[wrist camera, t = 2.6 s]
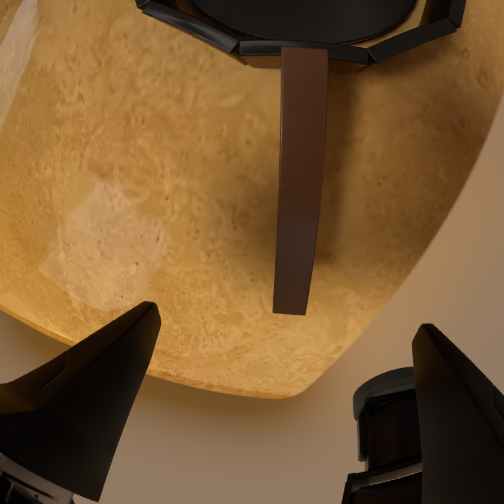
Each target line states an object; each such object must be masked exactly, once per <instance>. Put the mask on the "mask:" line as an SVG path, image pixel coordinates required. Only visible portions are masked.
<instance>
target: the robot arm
mask: <svg viewBox="0 0 504 504" xmlns="http://www.w3.org/2000/svg"><path fill="white" fill-rule="evenodd" d="M160 327H161V318H160V314H159V311H158V307H157V304H156V303H154V302H149V301H144V302H142V303H140V304H139V305H137V306H136V307H134V308H132V309H131V310H129V311H128V312H126V313H124V314H123V315H121V316H120V317H118V318H117V319H115V320H113V321H112V322H110V323H109V324H107V325H106V326H104V327H102V328H101V329H99V330H98V331H96V332H95V333H93V334H91V335H90V336H88V337H87V338H85V339H84V340H82V341H80V342H79V343H77V344H76V345H74V346H73V347H71V348H70V349H68V351H65V352H63V353H62V354H60V355H59V356H57V357H55V358H54V359H52V360H51V361H49V362H47V363H45V364H44V365H42V366H40V367H39V368H37V369H35V370H33V371H31V372H29V373H27V374H25V375H23V376H21V377H19V378H18V379H16V380H14V381H11V382H9V383H4V384H0V504H74V501H73V499H72V497H73V494H74V493H75V494H77V495H80V496H82V497H85V498H87V499H90V500H92V501H96V502H98V501H99V499H100V496H101V493H102V490H103V487H104V483H105V481H106V477H107V474H108V471H109V469H110V466H111V463H112V460H113V456H114V454H115V451H116V448H117V445H118V442H119V440H120V437H121V434H122V431H123V429H124V426H125V424H126V421H127V418H128V416H129V413H130V410H131V408H132V405H133V402H134V400H135V398H136V395H137V393H138V390H139V388H140V385H141V383H142V380H143V378H144V376H145V373H146V371H147V368H148V366H149V363H150V360H151V357H152V354H153V350H154V347H155V344H156V340H157V337H158V334H159V330H160ZM412 354H413V366H414V381H415V388H413V389H409V390H405V391H400V392H395V393H390V394H385V395H380V396H374V397H369V398H366V399H365V400H364V405H363V412H362V413H360V414H359V415H358V421H357V437H358V460H359V461H360V462H363V461H365V472H360V473H351V474H348V477H347V482H346V483H345V489H344V493H343V499H342V503H341V504H504V395H503V394H502V393H501V392H500V391H499V390H498V389H497V388H496V387H495V386H494V385H493V383H492V382H491V381H490V380H489V379H488V378H487V377H486V376H485V375H484V374H483V373H482V372H481V371H480V370H479V369H478V368H477V367H476V366H475V365H474V363H473V362H472V361H471V360H469V358H468V357H466V355H465V354H464V353H463V352H461V350H460V349H458V348H457V347H456V346H455V345H454V344H453V343H452V342H451V341H450V340H449V339H448V338H447V337H446V336H445V335H444V334H443V333H442V332H441V331H440V330H439V329H438V328H437V327H435V326H434V325H433V324H431V323H427V324H422V325H421V326H420V327H419V329H418V331H417V333H416V335H415V337H414V339H413V341H412ZM419 471H421V472H419ZM416 472H418V473H416ZM412 473H415V474H412ZM409 474H412V475H409ZM406 475H409V476H406ZM402 476H405V477H402ZM399 477H402V478H399ZM395 478H398V479H395ZM391 479H395V480H391ZM387 480H390V481H387ZM383 481H386V482H383ZM379 482H382V483H379ZM375 483H378V484H375ZM370 484H374V485H370Z"/></svg>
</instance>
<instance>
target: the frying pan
mask: <svg viewBox="0 0 504 504" xmlns="http://www.w3.org/2000/svg"><path fill="white" fill-rule="evenodd" d="M190 1H191V2H192V3H193V4H194V5H195V6H196V7H197V8H198V9H199V10H200V11H202V12H203V13H204V14H205V15H207V16H208V17H209V18H210V19H212V20H214V21H215V22H217V23H219V24H220V25H222V26H224V27H226V28H228V29H230V30H233V31H235V32H237V33H240V34H243V35H245V36H248V37H251V38H255V39H259V40H239V39H238V38H236V37H234V36H232V35H230V34H228V33H226V32H224V31H223V30H221V29H219V28H217V27H215V26H213V25H211V24H208V23H206V22H204V21H202V20H200V19H198V18H195V17H193V16H191V15H189V14H186V13H184V12H182V11H179V9H178V7H177V4H176V1H175V0H135V2H136V5H137V8H138V9H141V10H143V11H142V13H143V14H146V15H148V16H150V17H152V18H155V19H157V20H159V21H161V22H163V23H165V24H167V25H169V26H171V27H173V28H176V29H178V30H180V31H182V32H184V33H186V34H188V35H190V36H192V37H195V38H197V39H199V40H200V41H202V42H204V43H206V44H208V45H210V46H212V47H214V48H216V49H217V50H219V51H221V52H223V53H225V54H226V55H228V56H230V57H232V58H233V59H235V60H237V61H238V62H240V63H242V64H243V65H248V64H250V65H251V66H252V67H253V68H281V116H280V160H279V191H278V217H277V239H276V259H275V278H274V295H273V311H272V312H273V313H278V314H290V315H305V314H306V309H307V303H308V296H309V290H310V284H311V277H312V270H313V263H314V255H315V248H316V240H317V231H318V223H319V214H320V204H321V194H322V183H323V171H324V158H325V143H326V126H327V101H328V71H330V72H338V73H345V74H351V73H353V72H355V71H356V72H357V73H359V72H361V71H363V70H365V69H368V68H370V67H372V66H374V65H376V64H379V63H381V62H383V61H385V60H387V59H389V58H391V57H394V56H396V55H398V54H400V53H403V52H405V51H407V50H410V49H412V48H415V47H417V46H419V45H422V44H424V43H427V42H430V41H432V40H435V39H438V38H440V37H443V36H446V35H449V34H452V33H455V32H456V31H457V30H456V29H457V28H460V27H461V24H462V19H463V14H464V9H465V4H466V0H426V4H425V8H424V11H423V15H422V18H421V21H420V25H419V27H417V28H415V29H412V30H409V31H407V32H404V33H401V34H399V35H396V36H394V37H392V38H389V39H387V40H385V41H382V42H380V43H378V44H375V45H373V46H371V47H369V48H367V49H366V48H361V47H356V46H349V45H347V44H353V43H357V42H361V41H365V40H368V39H371V38H373V37H376V36H378V35H381V34H382V33H384V32H386V31H388V30H390V29H391V28H393V27H394V26H395V25H397V24H398V23H399V22H400V21H402V20H403V19H404V18H405V17H406V16H407V14H408V13H409V12H410V11H411V9H412V8H413V6H414V4H415V2H416V0H190Z"/></svg>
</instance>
